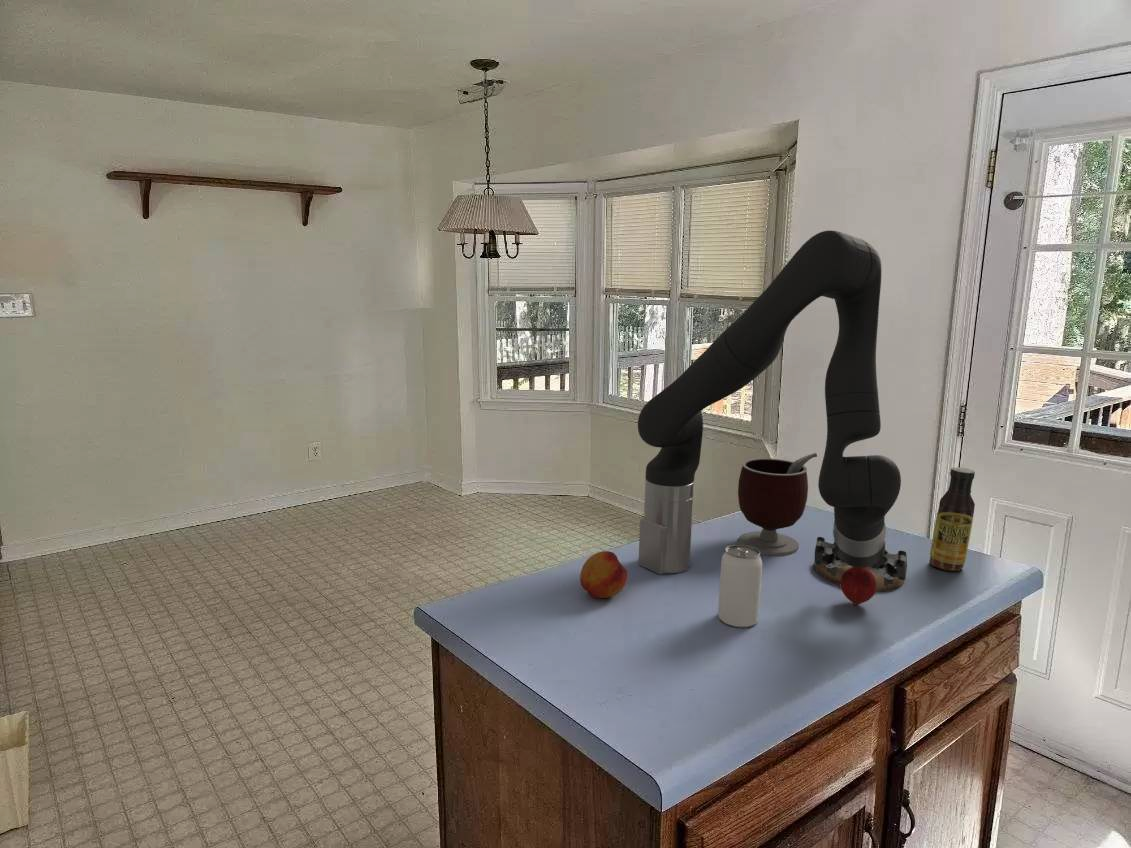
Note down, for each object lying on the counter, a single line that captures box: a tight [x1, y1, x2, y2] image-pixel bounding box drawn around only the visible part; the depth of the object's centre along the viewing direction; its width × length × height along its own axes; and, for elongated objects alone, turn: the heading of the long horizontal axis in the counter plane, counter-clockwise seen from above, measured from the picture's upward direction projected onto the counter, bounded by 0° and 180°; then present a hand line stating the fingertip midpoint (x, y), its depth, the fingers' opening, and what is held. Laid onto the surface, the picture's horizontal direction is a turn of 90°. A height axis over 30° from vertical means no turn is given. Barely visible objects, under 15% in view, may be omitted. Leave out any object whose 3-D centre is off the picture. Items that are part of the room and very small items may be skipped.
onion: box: [839, 567, 877, 606], centre depth 125 cm, size 6×6×8 cm
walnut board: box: [814, 551, 905, 592], centre depth 139 cm, size 16×16×2 cm
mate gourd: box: [737, 452, 818, 557], centre depth 151 cm, size 16×14×20 cm
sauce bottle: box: [929, 466, 976, 572], centre depth 140 cm, size 7×6×20 cm
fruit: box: [579, 550, 629, 599], centre depth 127 cm, size 8×8×8 cm
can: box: [717, 544, 763, 629], centre depth 118 cm, size 6×6×12 cm
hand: (859, 576), depth 126 cm, fingers open, 8 cm apart
